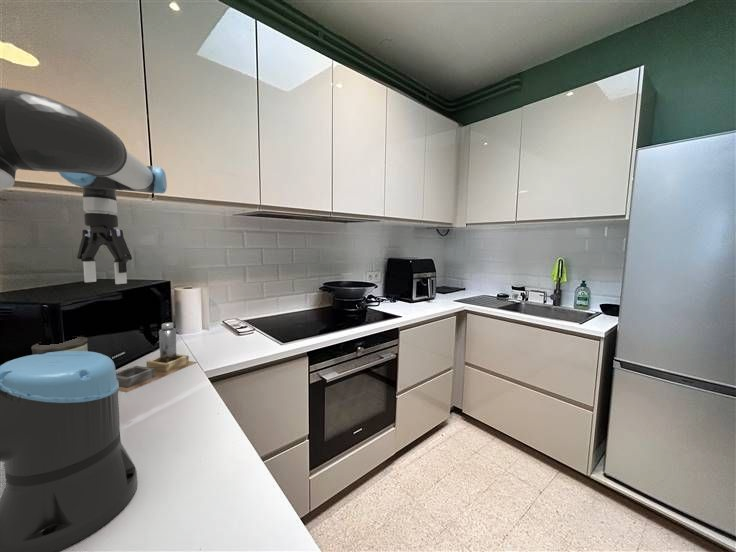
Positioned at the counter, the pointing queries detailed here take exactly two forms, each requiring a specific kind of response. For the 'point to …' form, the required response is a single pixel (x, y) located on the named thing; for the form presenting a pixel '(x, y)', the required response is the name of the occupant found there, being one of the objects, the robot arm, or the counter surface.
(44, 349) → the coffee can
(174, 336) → the grey cylinder
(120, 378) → the tool stand
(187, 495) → the counter surface
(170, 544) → the counter surface
